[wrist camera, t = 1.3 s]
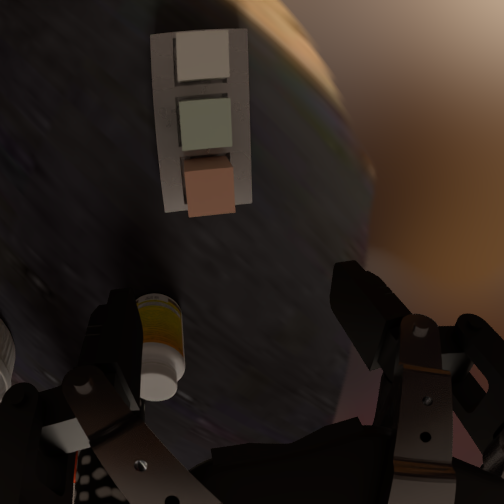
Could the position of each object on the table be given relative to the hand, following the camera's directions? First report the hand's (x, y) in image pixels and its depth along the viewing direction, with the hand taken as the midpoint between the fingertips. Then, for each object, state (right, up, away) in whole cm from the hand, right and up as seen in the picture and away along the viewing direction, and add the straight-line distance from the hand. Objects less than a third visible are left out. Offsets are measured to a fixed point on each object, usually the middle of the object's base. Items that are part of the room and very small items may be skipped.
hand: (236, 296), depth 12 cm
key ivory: (-3, +15, +9) cm, 18 cm away
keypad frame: (-4, +13, +13) cm, 19 cm away
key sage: (-3, +11, +11) cm, 16 cm away
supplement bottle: (-10, -5, +21) cm, 24 cm away
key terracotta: (-3, +7, +13) cm, 15 cm away
